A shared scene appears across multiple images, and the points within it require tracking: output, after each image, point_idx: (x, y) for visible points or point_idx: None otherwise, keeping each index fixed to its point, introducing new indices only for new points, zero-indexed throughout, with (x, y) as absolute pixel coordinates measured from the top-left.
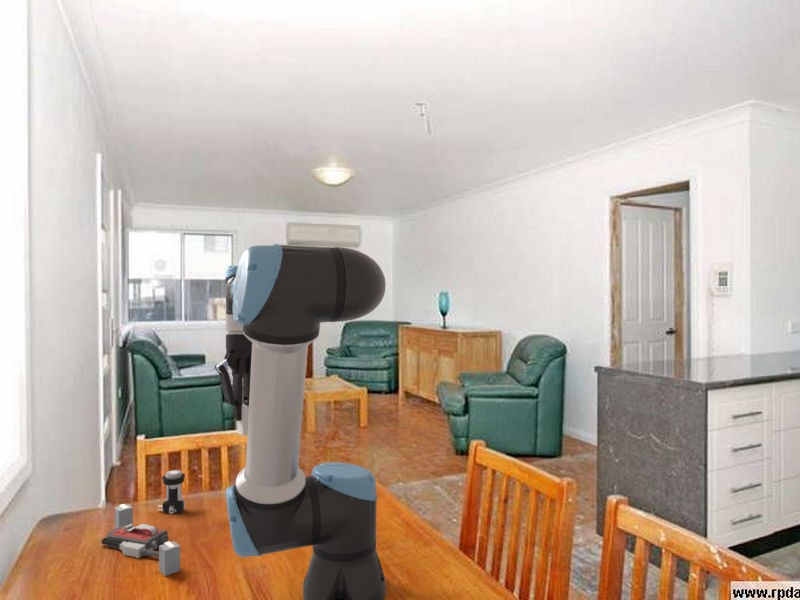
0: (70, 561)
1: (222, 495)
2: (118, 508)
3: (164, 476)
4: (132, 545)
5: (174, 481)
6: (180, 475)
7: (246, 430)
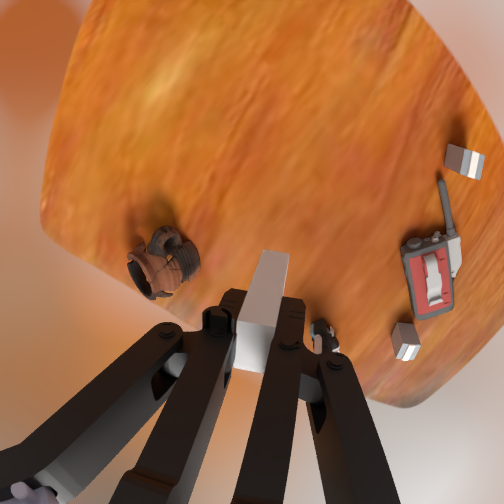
0: (488, 291)
1: None
2: (414, 353)
3: None
4: (456, 254)
5: None
6: None
7: (271, 258)
